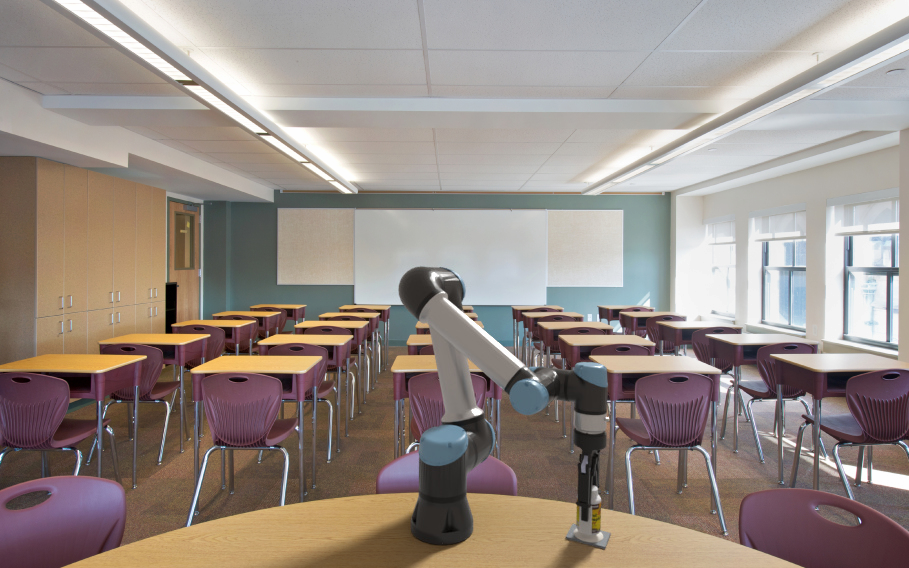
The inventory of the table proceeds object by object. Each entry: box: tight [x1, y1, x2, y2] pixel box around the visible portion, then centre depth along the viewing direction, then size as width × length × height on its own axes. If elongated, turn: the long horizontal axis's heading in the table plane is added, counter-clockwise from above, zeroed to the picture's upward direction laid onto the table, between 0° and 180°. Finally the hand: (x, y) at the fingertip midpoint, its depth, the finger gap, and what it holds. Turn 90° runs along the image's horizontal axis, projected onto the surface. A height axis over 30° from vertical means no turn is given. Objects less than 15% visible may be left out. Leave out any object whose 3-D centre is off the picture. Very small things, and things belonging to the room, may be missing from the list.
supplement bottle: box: [575, 485, 602, 535], centre depth 113 cm, size 6×6×10 cm
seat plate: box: [565, 523, 612, 550], centre depth 113 cm, size 9×7×1 cm
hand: (588, 526), depth 113 cm, fingers closed on supplement bottle, 6 cm apart
